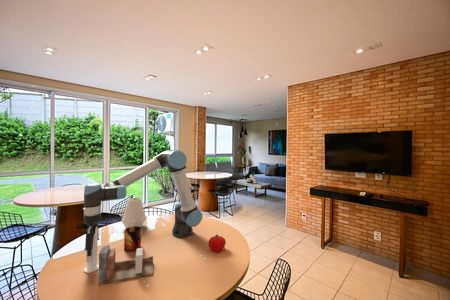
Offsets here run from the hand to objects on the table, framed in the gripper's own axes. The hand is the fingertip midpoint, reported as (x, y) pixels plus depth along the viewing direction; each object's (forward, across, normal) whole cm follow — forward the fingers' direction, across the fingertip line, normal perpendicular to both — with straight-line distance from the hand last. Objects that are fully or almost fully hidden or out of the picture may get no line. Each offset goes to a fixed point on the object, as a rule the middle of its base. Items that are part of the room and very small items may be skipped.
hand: (92, 257), depth 105 cm
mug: (+7, -16, +20) cm, 26 cm away
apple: (+7, +2, +68) cm, 68 cm away
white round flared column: (+6, 0, 0) cm, 6 cm away
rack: (+6, +10, +18) cm, 22 cm away
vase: (+6, -52, +16) cm, 55 cm away
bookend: (+5, +10, +23) cm, 26 cm away
